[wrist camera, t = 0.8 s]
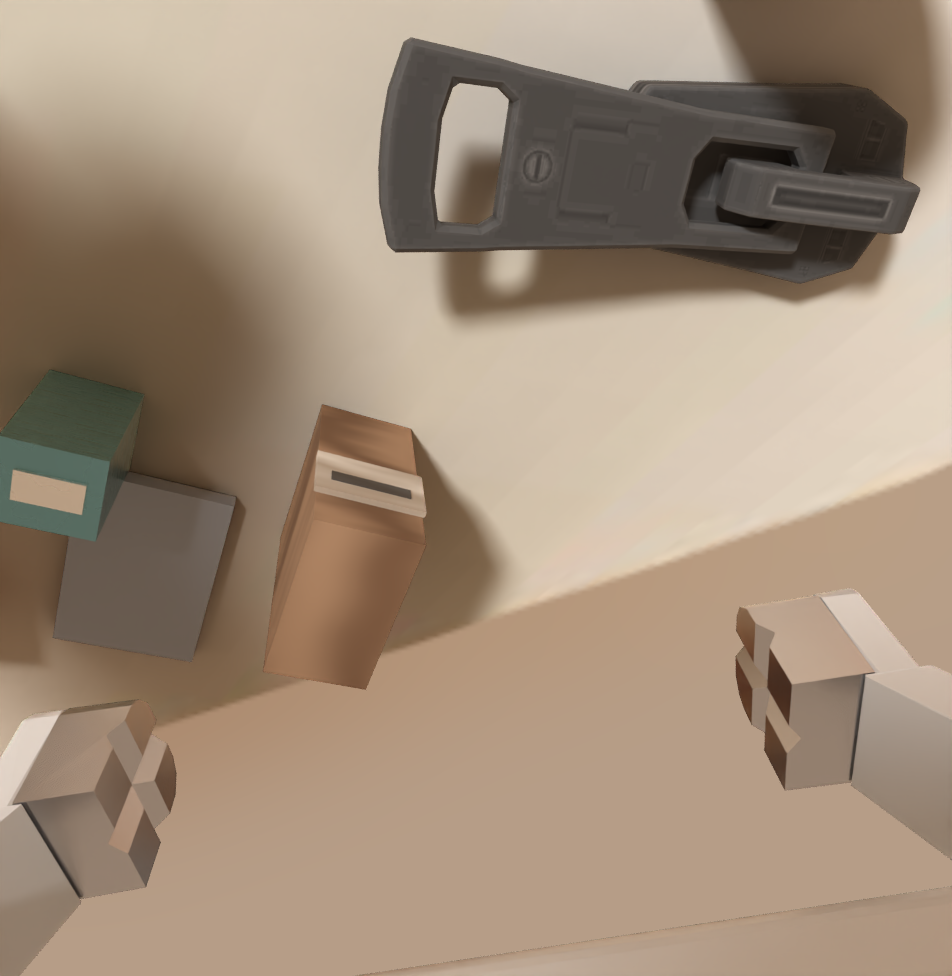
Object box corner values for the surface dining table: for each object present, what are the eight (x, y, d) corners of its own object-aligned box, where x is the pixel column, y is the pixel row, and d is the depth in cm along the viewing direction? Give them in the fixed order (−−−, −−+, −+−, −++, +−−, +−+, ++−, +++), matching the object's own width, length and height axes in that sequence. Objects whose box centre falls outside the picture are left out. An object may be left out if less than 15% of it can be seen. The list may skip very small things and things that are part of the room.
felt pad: (57, 626, 48) (52, 638, 48) (84, 461, 43) (79, 470, 42) (194, 650, 51) (191, 662, 50) (236, 497, 45) (234, 506, 44)
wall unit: (277, 540, 47) (259, 675, 38) (322, 397, 43) (313, 511, 33) (363, 559, 49) (365, 694, 39) (414, 423, 44) (431, 539, 35)
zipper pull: (390, 15, 28) (1000, 112, 33) (384, 11, 34) (906, 93, 38) (371, 266, 33) (910, 320, 37) (369, 225, 38) (837, 277, 43)
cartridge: (40, 445, 42) (-12, 521, 36) (49, 369, 40) (-4, 437, 34) (130, 466, 43) (94, 543, 37) (144, 394, 41) (109, 463, 35)
